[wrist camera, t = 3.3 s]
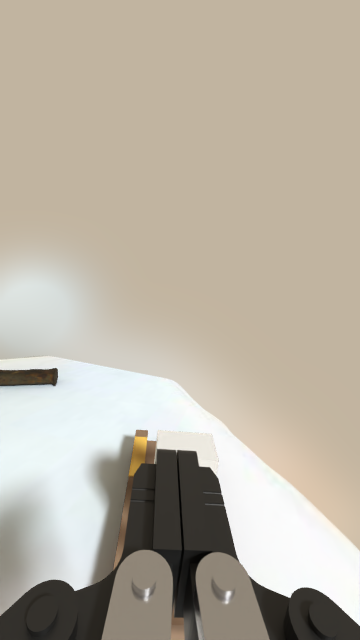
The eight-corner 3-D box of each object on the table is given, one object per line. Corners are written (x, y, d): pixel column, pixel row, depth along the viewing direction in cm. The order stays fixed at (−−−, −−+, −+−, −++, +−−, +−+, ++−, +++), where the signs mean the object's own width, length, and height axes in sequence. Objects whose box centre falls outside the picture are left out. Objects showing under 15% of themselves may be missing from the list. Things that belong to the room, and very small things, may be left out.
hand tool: (58, 380, 68) (59, 363, 67) (56, 387, 64) (56, 369, 63) (-30, 382, 62) (-31, 363, 61) (-38, 390, 59) (-40, 370, 58)
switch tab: (208, 573, 28) (228, 469, 25) (136, 571, 27) (148, 464, 24) (200, 518, 34) (216, 428, 31) (141, 515, 33) (151, 424, 30)
